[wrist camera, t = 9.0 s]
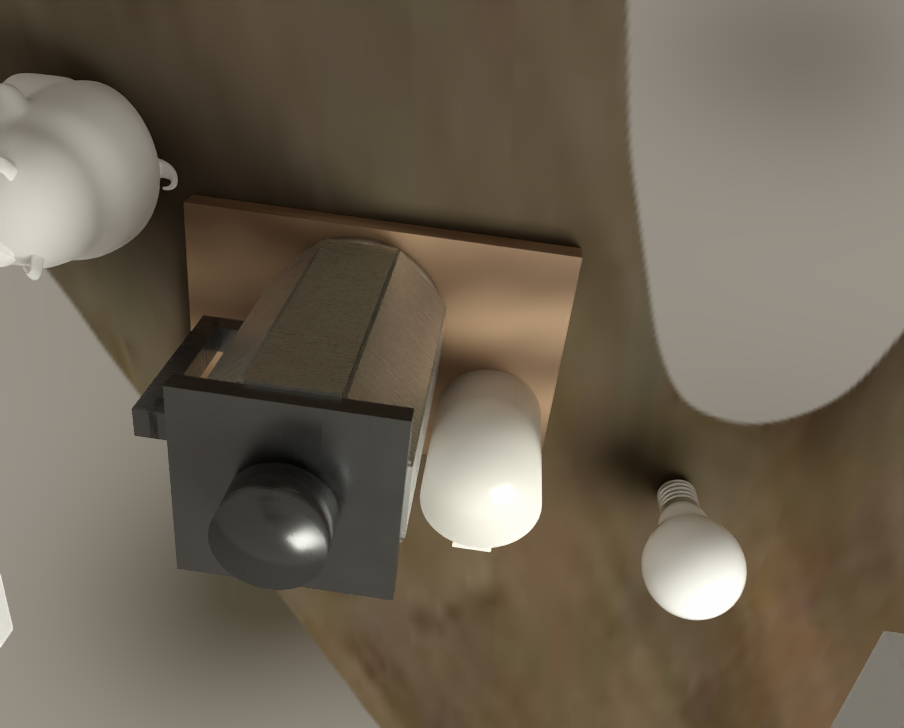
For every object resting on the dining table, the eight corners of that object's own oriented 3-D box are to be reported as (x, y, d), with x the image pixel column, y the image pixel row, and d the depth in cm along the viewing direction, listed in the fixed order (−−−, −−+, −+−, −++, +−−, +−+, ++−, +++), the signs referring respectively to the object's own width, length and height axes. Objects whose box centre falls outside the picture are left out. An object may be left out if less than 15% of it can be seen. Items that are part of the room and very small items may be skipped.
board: (192, 193, 51) (183, 202, 49) (581, 248, 50) (582, 257, 49) (203, 409, 59) (196, 421, 57) (537, 457, 58) (537, 470, 57)
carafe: (223, 217, 50) (81, 370, 34) (454, 249, 49) (416, 418, 34) (228, 369, 55) (108, 561, 40) (435, 399, 55) (396, 603, 39)
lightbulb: (611, 496, 60) (625, 613, 50) (667, 437, 57) (694, 549, 47) (681, 535, 61) (708, 656, 51) (740, 479, 58) (780, 597, 48)
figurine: (190, 82, 47) (93, 139, 37) (191, 240, 52) (106, 328, 42) (18, 51, 47) (-126, 99, 37) (36, 212, 52) (-87, 293, 42)
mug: (441, 362, 53) (425, 444, 46) (549, 377, 53) (551, 462, 45) (428, 467, 58) (412, 558, 50) (528, 481, 58) (526, 575, 50)
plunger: (281, 266, 47) (160, 450, 32) (426, 286, 47) (373, 481, 32) (280, 388, 52) (173, 602, 36) (413, 407, 52) (361, 630, 36)
